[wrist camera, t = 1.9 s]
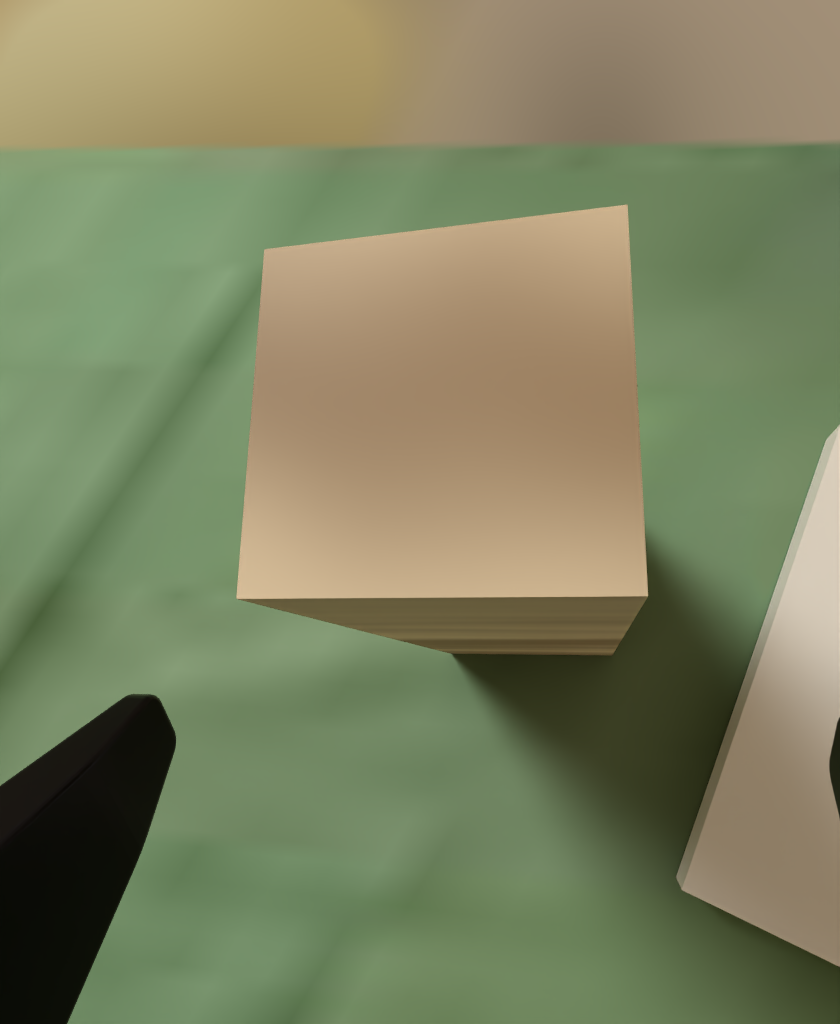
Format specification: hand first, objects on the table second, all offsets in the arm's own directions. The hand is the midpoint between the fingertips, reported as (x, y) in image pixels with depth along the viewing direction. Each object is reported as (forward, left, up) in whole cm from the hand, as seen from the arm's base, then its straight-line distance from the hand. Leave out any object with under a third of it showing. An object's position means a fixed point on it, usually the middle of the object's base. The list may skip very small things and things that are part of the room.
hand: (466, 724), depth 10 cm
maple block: (+3, -3, -10) cm, 11 cm away
